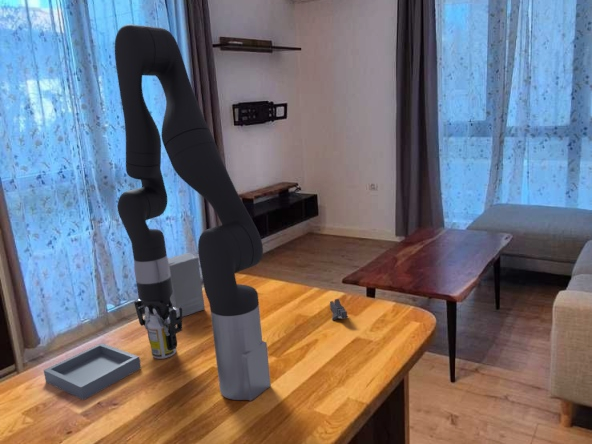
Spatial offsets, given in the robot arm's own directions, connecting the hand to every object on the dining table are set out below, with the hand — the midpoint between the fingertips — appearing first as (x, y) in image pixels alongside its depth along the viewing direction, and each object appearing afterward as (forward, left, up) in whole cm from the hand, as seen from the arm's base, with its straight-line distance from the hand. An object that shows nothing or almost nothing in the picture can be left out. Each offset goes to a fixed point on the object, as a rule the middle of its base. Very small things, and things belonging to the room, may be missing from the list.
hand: (163, 345), depth 118 cm
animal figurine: (-26, -35, -2) cm, 44 cm away
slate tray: (+6, +14, -2) cm, 16 cm away
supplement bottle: (0, 0, -2) cm, 2 cm away
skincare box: (+14, -20, -2) cm, 24 cm away
